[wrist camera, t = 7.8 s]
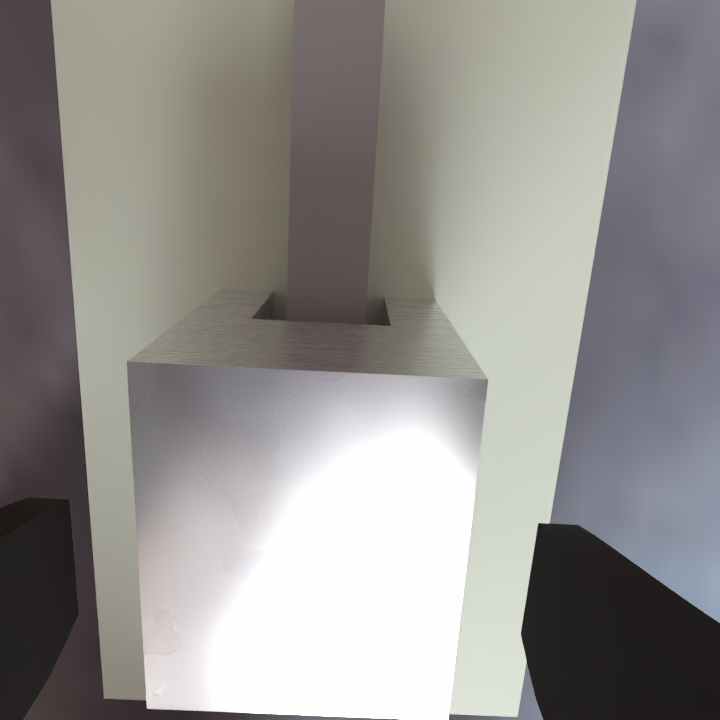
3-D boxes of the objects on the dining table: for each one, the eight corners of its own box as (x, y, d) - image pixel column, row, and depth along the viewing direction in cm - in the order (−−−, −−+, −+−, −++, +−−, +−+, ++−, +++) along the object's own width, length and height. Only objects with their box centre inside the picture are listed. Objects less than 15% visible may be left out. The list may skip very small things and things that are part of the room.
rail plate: (509, 689, 19) (536, 782, 16) (117, 671, 18) (72, 762, 15) (628, -60, 13) (705, -130, 10) (65, -99, 13) (-21, -181, 10)
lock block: (415, 525, 16) (447, 720, 10) (224, 516, 16) (146, 708, 10) (435, 299, 14) (488, 379, 8) (221, 288, 14) (126, 361, 8)
